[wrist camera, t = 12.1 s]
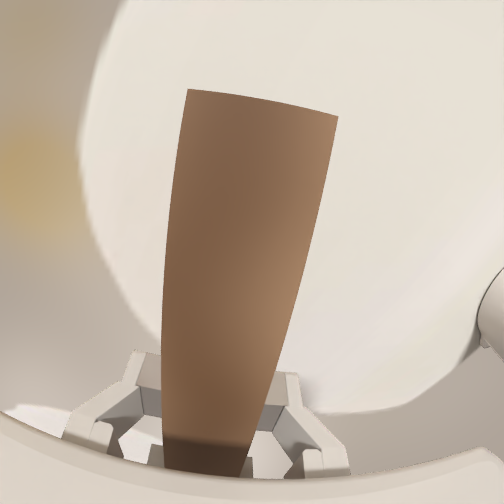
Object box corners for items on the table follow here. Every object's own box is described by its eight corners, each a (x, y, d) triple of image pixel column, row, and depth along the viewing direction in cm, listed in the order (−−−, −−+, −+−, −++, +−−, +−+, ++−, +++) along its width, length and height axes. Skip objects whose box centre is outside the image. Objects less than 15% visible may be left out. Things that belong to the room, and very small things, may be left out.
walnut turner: (344, 134, 9) (426, 138, 5) (248, 465, 16) (251, 533, 11) (164, 103, 9) (97, 78, 4) (152, 453, 15) (139, 519, 11)
